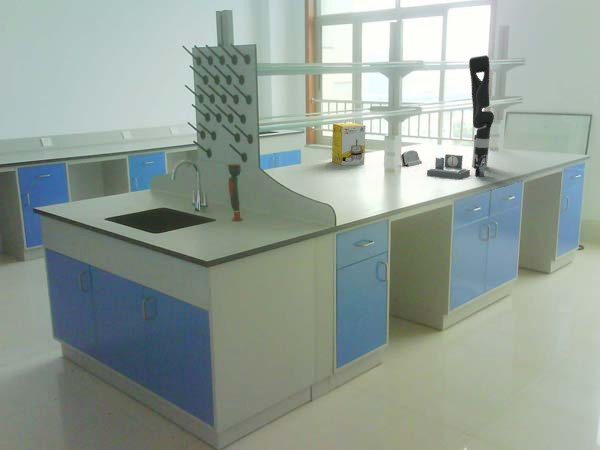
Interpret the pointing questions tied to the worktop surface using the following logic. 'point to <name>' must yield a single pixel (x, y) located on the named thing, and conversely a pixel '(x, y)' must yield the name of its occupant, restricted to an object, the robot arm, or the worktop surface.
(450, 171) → the scale
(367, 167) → the worktop surface
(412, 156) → the grey rounded panel
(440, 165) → the cylinder
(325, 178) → the worktop surface
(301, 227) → the worktop surface
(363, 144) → the packaging box
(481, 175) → the cylinder
